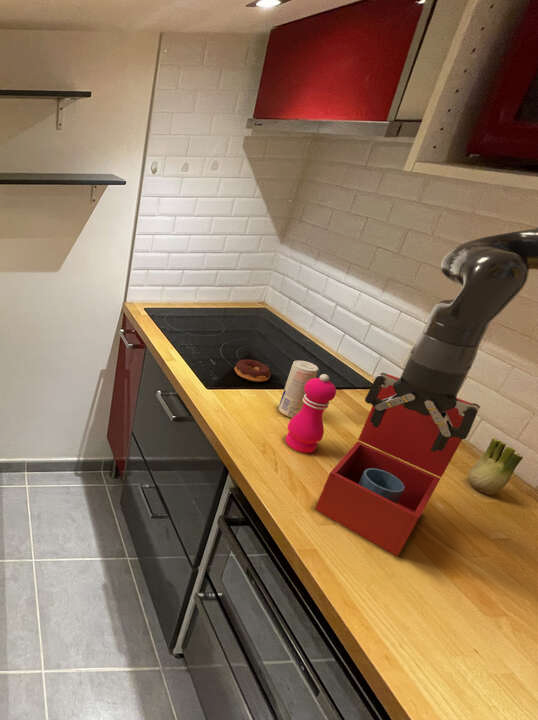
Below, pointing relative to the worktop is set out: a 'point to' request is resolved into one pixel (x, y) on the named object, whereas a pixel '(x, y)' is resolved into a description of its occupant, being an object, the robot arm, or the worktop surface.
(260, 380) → the donut
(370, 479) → the cup
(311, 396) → the pepper mill
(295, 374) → the beverage can
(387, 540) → the cooler
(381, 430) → the cooler lid
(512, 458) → the fennel bulb
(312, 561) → the worktop surface
